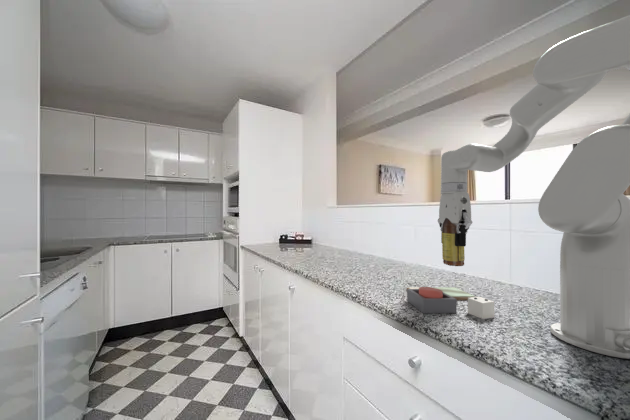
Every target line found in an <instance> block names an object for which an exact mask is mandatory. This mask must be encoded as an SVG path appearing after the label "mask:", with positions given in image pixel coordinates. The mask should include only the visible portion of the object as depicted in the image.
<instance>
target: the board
mask: <svg viewBox="0 0 630 420" xmlns="http://www.w3.org/2000/svg"><path fill="white" fill-rule="evenodd" d="M420 287H421V286H420ZM420 287H419V286H417V287H415V286H414V287H413V286H412V287H406V291H407V289H419V288H420ZM432 288H437V289H440V290H442V291H443V293H445V294H447V295H449V296H451V297H453V298H455V299H457V301H468V298H471V297H477V296H475V295H473V294H471V293H469V292H467V291H464V290H462V289H460V288H458V287H454V286H451V287H447V286H446V287H445V286H444V287H432Z"/></svg>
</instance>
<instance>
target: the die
mask: <svg viewBox="0 0 630 420" xmlns="http://www.w3.org/2000/svg"><path fill="white" fill-rule="evenodd" d="M467 314H470V315H472V316H474V317H476V318H479V319H482V320H486V319H493V318H495V301H493V300H491V299H487V298H485V297H481V296H476V297H471V298H468V300H467Z"/></svg>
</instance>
